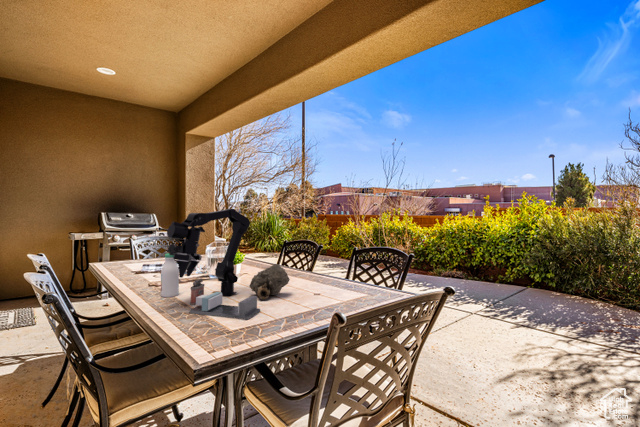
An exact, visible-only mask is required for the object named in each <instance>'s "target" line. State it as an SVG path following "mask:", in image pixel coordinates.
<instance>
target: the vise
mask: <svg viewBox="0 0 640 427" xmlns="http://www.w3.org/2000/svg"><path fill="white" fill-rule="evenodd" d="M188 311H189V313H188V314H195V315H196V314H197V315H204V316H212V317H221V318H230V319H238V320H245V321H246V320H247V321H248V320H250V319H251V318H253V317H255V316H256V315H258V314H259V313H261V308H258V295H250V296H248V297H246V298H244V299H242V300H240V301H239V302H238V305H237V306H236V305H227V304H221V305H219V306H217V307H215V308H213V309H211V310H209V311H202V305H196V306H195V307H192V308H191V309H189V310H188Z"/></svg>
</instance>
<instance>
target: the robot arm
mask: <svg viewBox="0 0 640 427" xmlns="http://www.w3.org/2000/svg"><path fill="white" fill-rule="evenodd" d="M226 218H227V219H228V220H229V222H230V223H232V224H231V229H232V234H231V237H230V240H229V243H228V246H227V249H226V251H225V254H224V257H223V259H222V260H221V262H220V261H218V262H217V263H216V268H215V269H214V271H215V272H214V275H215V276H216V277H215V278H217V281H218V282H220V292H222V297H224V296H225V297H231V296H233V295H235V294H237V291H234V290H235V284H236V283H237V282H238V279H239V278H238V276H237V275H236V274H235V272H234V271H235V264H234V263H235V259H236V255H237V253H238V250H239V246H240V244H241V241H242V238H243V235H244V234H245V233H246V232H247V231H248V229H249V227H250V226H251V225H250V224H251V221H250V219H249V217H247V216H245V215H244V214H242V213H240V212H238V211H237V210H236V209H235V208H225V209H221V210H216V211H211V212H190V213H188V214H187V217H186V218H185V219H184V220H183V221H182V222H181V223H180V222H177V221H172V222H171V223H170V225H169V227H168V229H167V230H166V235H167V237H168V238H169V239H174V240H184V241H182V242H181V244H180V245H176V244H173V243H172V244H169V246H168V248H167V252H168V253H169V255H174V258H173V259H175V262H176V264H177V266H178V270H179V279H182V278H183V277H184V276H185V273H186V276H187V277H190V276H191V275H192V274H193V272H194V271H195V269H196V268H197V266H198V264H199V263H200V262H201V261H202V255H201V254H200V253H199V254H198V248H199V247H200V244H199V241H200V236H201V233H206V230H205V229H204V228H203V225H206V224H208V223H209V222H212V221H217V220H222V219H226Z"/></svg>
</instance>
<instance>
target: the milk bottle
mask: <svg viewBox="0 0 640 427" xmlns="http://www.w3.org/2000/svg"><path fill="white" fill-rule="evenodd" d="M173 258H174V255H169V252H168V253H165V254H164V263H163V264H162V265H163V266H162V267H161V270H160V272H161V273H160V296H161V297H163V298H172V297H177V296H178V295H179V292H180V291H179V289H180V288H179V287H180V286H179V284H180V283H179V282H180V277H179V266H178V264H177V262H176V261H175V260H176V259H173Z"/></svg>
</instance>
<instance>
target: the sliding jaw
mask: <svg viewBox="0 0 640 427" xmlns="http://www.w3.org/2000/svg"><path fill="white" fill-rule="evenodd" d="M199 305H202V311H209V310H211V309H213V308H215V307H217V306H219V305H223V295H222V292H221V291H215V292H213V293H211V294H208V295H207V294H204V295H201V296H198V297H196V305H195V306H199Z"/></svg>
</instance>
